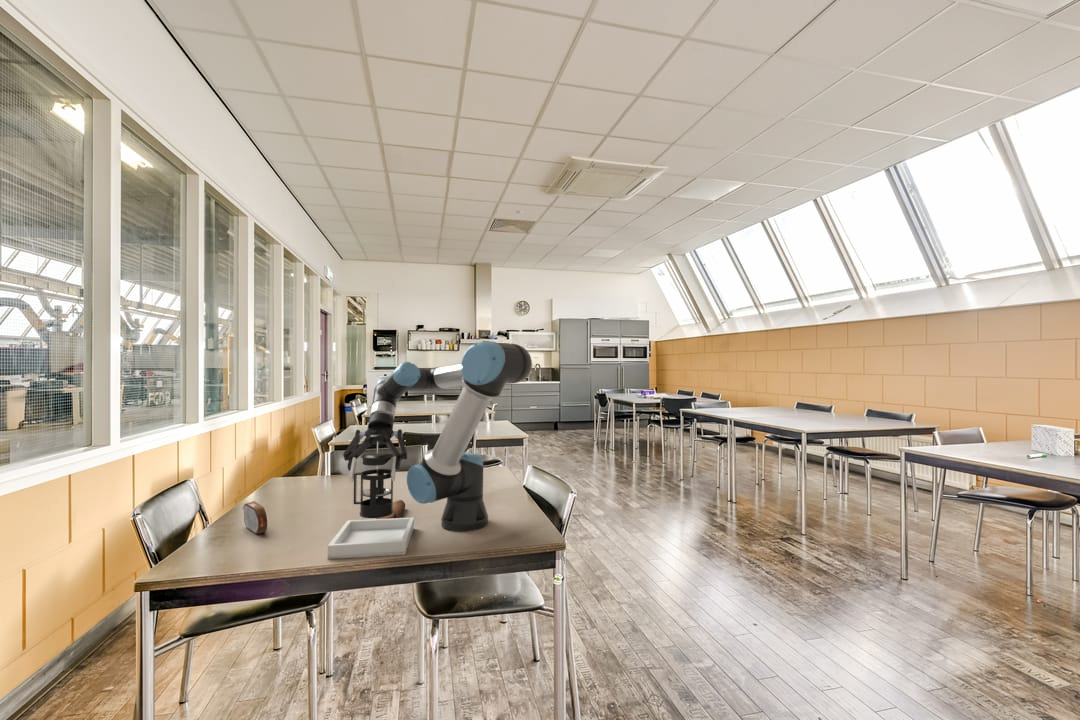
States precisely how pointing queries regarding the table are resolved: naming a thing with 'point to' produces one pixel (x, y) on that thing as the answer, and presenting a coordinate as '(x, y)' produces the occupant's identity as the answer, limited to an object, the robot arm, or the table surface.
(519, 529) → the table surface
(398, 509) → the sunglasses case
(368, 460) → the french press
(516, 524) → the table surface
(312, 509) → the table surface
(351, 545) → the tray
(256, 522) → the tin
